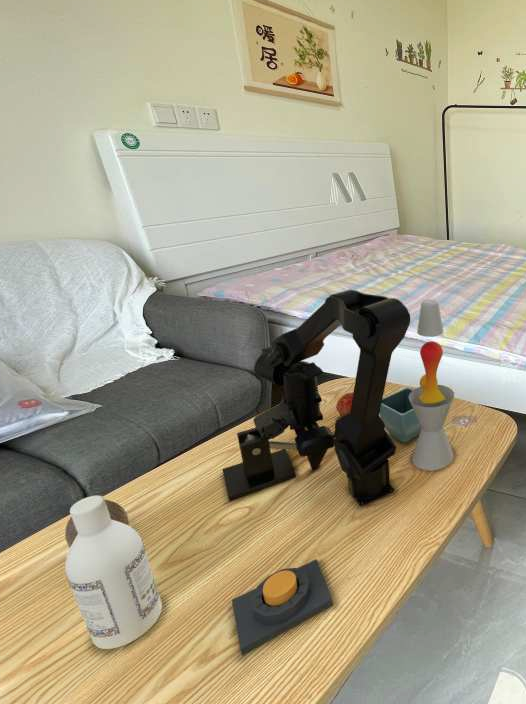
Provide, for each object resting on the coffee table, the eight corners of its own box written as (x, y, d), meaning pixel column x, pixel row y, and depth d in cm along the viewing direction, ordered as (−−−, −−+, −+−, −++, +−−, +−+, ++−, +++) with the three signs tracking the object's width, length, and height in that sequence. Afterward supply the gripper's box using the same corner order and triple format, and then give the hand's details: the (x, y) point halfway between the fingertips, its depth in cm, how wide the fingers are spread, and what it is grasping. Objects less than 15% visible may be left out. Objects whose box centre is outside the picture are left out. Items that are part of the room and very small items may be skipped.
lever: (309, 451, 91) (316, 437, 91) (314, 459, 89) (320, 445, 89) (241, 446, 82) (247, 430, 82) (243, 455, 80) (250, 439, 80)
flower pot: (408, 418, 105) (407, 386, 102) (434, 432, 100) (433, 398, 97) (378, 435, 98) (375, 401, 95) (403, 451, 94) (402, 415, 91)
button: (293, 574, 62) (292, 565, 62) (300, 595, 60) (298, 586, 59) (262, 589, 60) (260, 580, 59) (267, 612, 57) (265, 602, 57)
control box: (317, 565, 67) (315, 550, 66) (333, 605, 61) (331, 589, 60) (233, 606, 60) (229, 590, 59) (242, 655, 54) (238, 639, 53)
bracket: (286, 453, 91) (280, 415, 88) (296, 477, 84) (290, 437, 81) (223, 474, 84) (214, 433, 81) (229, 502, 78) (220, 459, 75)
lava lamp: (461, 461, 91) (462, 304, 80) (420, 476, 86) (415, 312, 75) (443, 439, 98) (442, 291, 87) (405, 451, 93) (397, 297, 82)
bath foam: (156, 589, 62) (120, 475, 55) (169, 621, 58) (132, 502, 51) (89, 625, 57) (40, 504, 50) (98, 664, 53) (47, 538, 46)
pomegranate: (336, 436, 101) (367, 418, 98) (319, 410, 100) (349, 391, 97) (355, 422, 108) (384, 404, 105) (338, 398, 107) (367, 379, 104)
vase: (97, 569, 64) (80, 523, 61) (60, 559, 66) (42, 513, 63) (144, 532, 71) (131, 489, 68) (110, 524, 72) (95, 481, 69)
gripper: (246, 381, 87) (256, 447, 92) (264, 428, 73) (274, 501, 78) (306, 368, 93) (312, 430, 99) (332, 408, 80) (338, 477, 85)
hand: (309, 457), depth 90 cm, fingers open, 9 cm apart
